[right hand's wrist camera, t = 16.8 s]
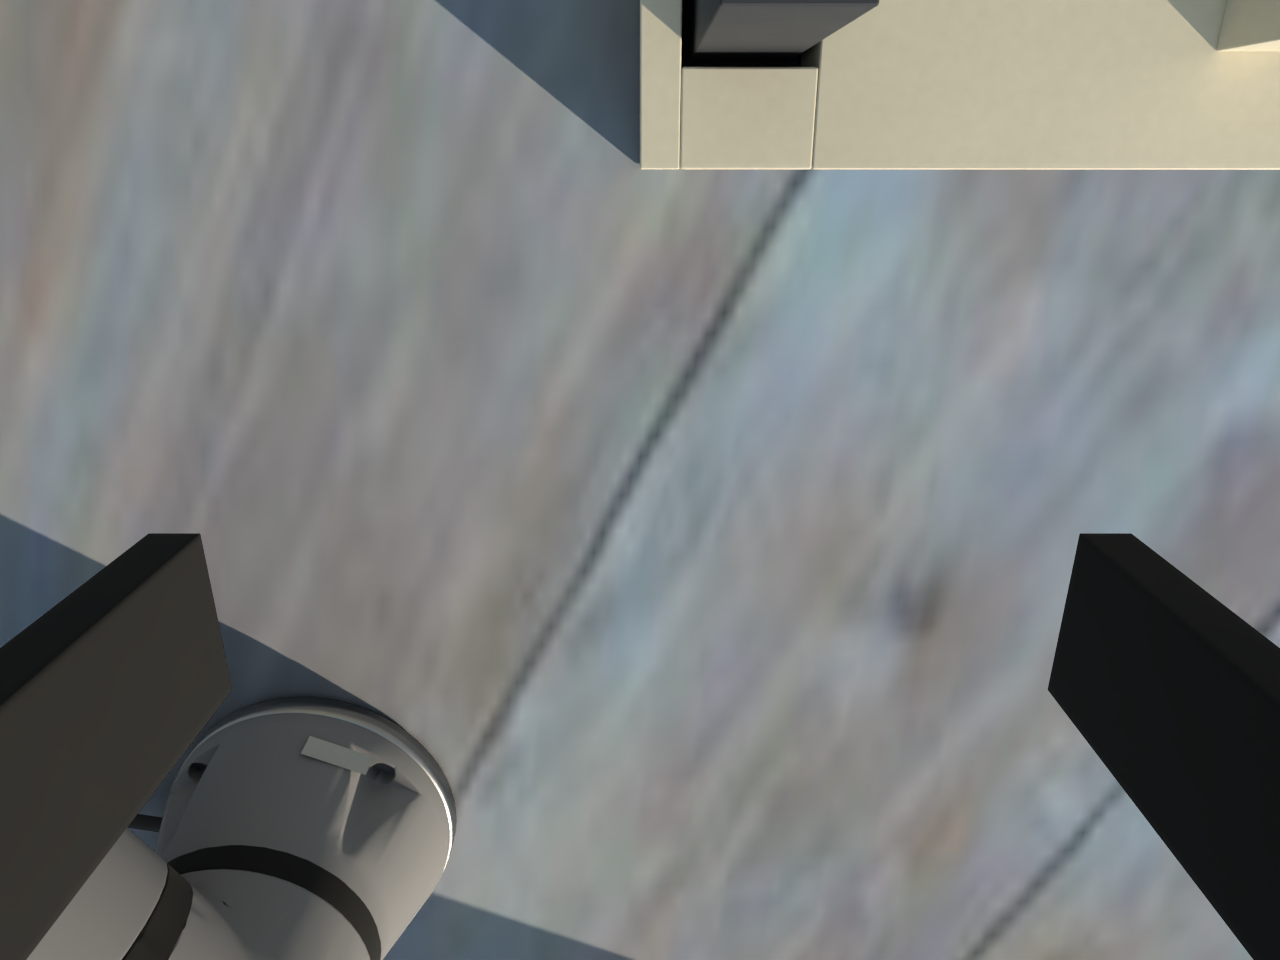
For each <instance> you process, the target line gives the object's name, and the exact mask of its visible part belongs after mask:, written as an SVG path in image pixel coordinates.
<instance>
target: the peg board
mask: <svg viewBox="0 0 1280 960" xmlns="http://www.w3.org/2000/svg"><path fill="white" fill-rule="evenodd" d="M681 46H682V0H640V169H679V168H680V169H980V170H1280V0H879V4H878V6H876V7H875V8H873V9H871V10H870V11H868V12H866V13H865V14H863V15H862V16H860V17H858V18H857V19H855V20H854V21H852V22H850V23H849V24H847V25H846V26H844V27H842V28H841V29H839V30H838V31H836V32H834V33H833V34H831V35H830V36H828V37H826V38H825V39H823V40H822V41H820V42H818V43H817V44H815V45H814V46H812V47H810V48H809V49H807V50H806V51H804V52H802V53H801V67H682V69H681Z"/></svg>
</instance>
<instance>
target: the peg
mask: <svg viewBox="0 0 1280 960" xmlns="http://www.w3.org/2000/svg"><path fill="white" fill-rule="evenodd" d="M878 4H879V0H690V30H689V62H788V61H789V60H791V59H793V58H794V57H796V56H797V55H799V54H801V53H802V52H804V51H806V50H807V49H809V48H810V47H812V46H814V45H815V44H817V43H818V42H820V41H822V40H823V39H825V38H826V37H828V36H830V35H831V34H833V33H834V32H836V31H838V30H839V29H841V28H842V27H844V26H846V25H847V24H849V23H850V22H852V21H854V20H855V19H857V18H858V17H860V16H862V15H863V14H865V13H866V12H868V11H870V10H871V9H873V8H875V7H876V6H878Z"/></svg>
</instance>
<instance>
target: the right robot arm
mask: <svg viewBox="0 0 1280 960" xmlns="http://www.w3.org/2000/svg"><path fill="white" fill-rule="evenodd" d="M231 691H232V686H231V681H230V676H229V672H228V667H227V662H226V657H225V652H224V647H223V642H222V638H221V633H220V628H219V623H218V618H217V613H216V608H215V604H214V599H213V594H212V589H211V584H210V579H209V574H208V569H207V565H206V560H205V555H204V550H203V545H202V540H201V535H200V534H148V535H146V536H145V537H144V538H143V539H141V540H140V541H139V542H137V543H136V544H135V545H133V546H132V547H131V548H130V549H128V550H127V551H126V552H124V553H123V554H122V555H121V556H119V557H118V558H117V559H115V560H114V561H113V562H111V563H110V564H109V565H108V566H106V567H105V568H104V569H102V570H101V571H100V572H98V573H97V574H96V575H95V576H93V577H92V578H91V579H89V580H88V581H87V582H86V583H84V584H83V585H82V586H80V587H79V588H78V589H76V590H75V591H74V592H73V593H71V594H70V595H69V596H67V597H66V598H65V599H64V600H62V601H61V602H60V603H58V604H57V605H56V606H54V607H53V608H52V609H51V610H49V611H48V612H47V613H45V614H44V615H43V616H41V617H40V618H39V619H38V620H36V621H35V622H34V623H32V624H31V625H30V626H29V627H27V628H26V629H25V630H23V631H22V632H21V633H19V634H18V635H17V636H16V637H14V638H13V639H12V640H10V641H9V642H8V643H7V644H5V645H4V646H3V647H1V648H0V960H383V958H384V957H385V956H386V954H387V953H388V952H389V950H390V949H391V948H392V946H393V945H394V944H395V942H396V941H397V940H398V938H399V937H400V936H401V934H402V933H403V932H404V930H405V929H406V928H407V926H408V925H409V924H410V922H411V921H412V920H413V918H414V917H415V915H416V914H417V913H418V911H419V910H420V908H421V907H422V906H423V904H424V903H425V902H426V901H427V899H428V898H429V896H430V895H431V894H432V892H433V891H434V889H435V887H436V886H437V884H438V882H439V880H440V877H441V875H442V873H443V871H444V869H445V867H446V864H447V861H448V858H449V855H450V851H451V848H452V844H453V840H454V835H455V830H456V808H455V802H454V798H453V794H452V791H451V788H450V785H449V783H448V781H447V778H446V777H445V775H444V773H443V771H442V769H441V768H440V766H439V765H438V763H437V762H436V760H435V759H434V758H433V757H432V755H431V754H430V753H429V752H428V751H427V749H426V748H425V747H424V746H423V745H421V744H420V743H419V742H418V741H417V740H416V739H415V738H414V737H413V736H411V735H410V734H409V733H408V732H406V731H405V730H404V729H402V728H401V727H399V726H398V725H396V724H395V723H393V722H391V721H389V720H388V719H386V718H384V717H382V716H380V715H378V714H376V713H374V712H371V711H369V710H366V709H364V708H361V707H358V706H355V705H352V704H348V703H345V702H340V701H335V700H330V699H323V698H313V697H290V698H280V699H273V700H268V701H264V702H260V703H257V704H253V705H250V706H247V707H245V708H243V709H240V710H238V711H236V712H234V713H232V714H231V715H229V716H227V717H225V718H224V719H222V720H221V721H220V722H218V723H217V724H216V725H214V726H213V727H212V728H211V729H210V730H209V731H208V732H207V733H206V734H205V735H204V736H203V737H202V739H201V740H200V741H199V742H198V744H197V745H196V746H195V748H194V749H193V750H192V752H191V753H190V754H189V756H188V757H187V759H186V760H185V762H184V763H183V765H182V767H181V769H180V771H179V773H178V775H177V777H176V779H175V781H174V783H173V785H172V787H171V790H170V793H169V796H168V799H167V803H166V807H165V811H164V815H163V818H161V817H154V816H147V815H140V814H138V813H139V811H140V810H141V809H142V807H143V806H144V805H145V803H146V802H147V801H148V799H149V798H150V797H151V796H152V794H153V793H154V792H155V790H156V789H157V788H158V786H159V785H160V784H161V782H162V781H163V780H164V778H165V777H166V776H167V775H168V773H169V772H170V771H171V769H172V768H173V767H174V765H175V764H176V763H177V761H178V760H179V759H180V757H181V756H182V755H183V754H184V752H185V751H186V750H187V748H188V747H189V746H190V744H191V743H192V742H193V740H194V739H195V738H196V736H197V735H198V734H199V733H200V731H201V730H202V729H203V727H204V726H205V725H206V723H207V722H208V721H209V719H210V718H211V717H212V715H213V714H214V713H215V712H216V710H217V709H218V708H219V706H220V705H221V704H222V702H223V701H224V700H225V698H226V697H227V696H228V694H229V693H230V692H231ZM1048 691H1049V692H1050V693H1051V694H1052V696H1053V697H1054V698H1055V700H1056V701H1057V702H1058V704H1059V705H1060V706H1061V708H1062V709H1063V710H1064V712H1065V713H1066V714H1067V715H1068V717H1069V718H1070V719H1071V721H1072V722H1073V723H1074V725H1075V726H1076V727H1077V729H1078V730H1079V731H1080V733H1081V734H1082V735H1083V736H1084V738H1085V739H1086V740H1087V742H1088V743H1089V744H1090V746H1091V747H1092V748H1093V750H1094V751H1095V752H1096V754H1097V755H1098V756H1099V757H1100V759H1101V760H1102V761H1103V763H1104V764H1105V765H1106V767H1107V768H1108V769H1109V771H1110V772H1111V773H1112V775H1113V776H1114V777H1115V778H1116V780H1117V781H1118V782H1119V784H1120V785H1121V786H1122V788H1123V789H1124V790H1125V792H1126V793H1127V794H1128V796H1129V797H1130V798H1131V799H1132V801H1133V802H1134V803H1135V805H1136V806H1137V807H1138V809H1139V810H1140V811H1141V813H1142V814H1143V815H1144V817H1145V818H1146V819H1147V820H1148V822H1149V823H1150V824H1151V826H1152V827H1153V828H1154V830H1155V831H1156V832H1157V834H1158V835H1159V836H1160V838H1161V839H1162V840H1163V841H1164V843H1165V844H1166V845H1167V847H1168V848H1169V849H1170V851H1171V852H1172V853H1173V855H1174V856H1175V857H1176V859H1177V860H1178V861H1179V862H1180V864H1181V865H1182V866H1183V868H1184V869H1185V870H1186V872H1187V873H1188V874H1189V876H1190V877H1191V878H1192V880H1193V881H1194V882H1195V883H1196V885H1197V886H1198V887H1199V889H1200V890H1201V891H1202V893H1203V894H1204V895H1205V897H1206V898H1207V899H1208V901H1209V902H1210V903H1211V904H1212V906H1213V907H1214V908H1215V910H1216V911H1217V912H1218V914H1219V915H1220V916H1221V918H1222V919H1223V920H1224V922H1225V923H1226V924H1227V925H1228V927H1229V928H1230V929H1231V931H1232V932H1233V933H1234V935H1235V936H1236V937H1237V939H1238V940H1239V941H1240V943H1241V944H1242V945H1243V946H1244V948H1245V949H1246V950H1247V952H1248V953H1249V954H1250V956H1251V957H1252V958H1253V960H1280V648H1279V647H1277V646H1276V645H1275V644H1273V643H1272V642H1271V641H1270V640H1268V639H1267V638H1266V637H1264V636H1263V635H1262V634H1261V633H1259V632H1258V631H1257V630H1255V629H1254V628H1253V627H1251V626H1250V625H1249V624H1248V623H1246V622H1245V621H1244V620H1242V619H1241V618H1240V617H1239V616H1237V615H1236V614H1235V613H1233V612H1232V611H1231V610H1229V609H1228V608H1227V607H1226V606H1224V605H1223V604H1222V603H1220V602H1219V601H1218V600H1216V599H1215V598H1214V597H1213V596H1211V595H1210V594H1209V593H1207V592H1206V591H1205V590H1204V589H1202V588H1201V587H1200V586H1198V585H1197V584H1196V583H1194V582H1193V581H1192V580H1191V579H1189V578H1188V577H1187V576H1185V575H1184V574H1183V573H1182V572H1180V571H1179V570H1178V569H1176V568H1175V567H1174V566H1172V565H1171V564H1170V563H1169V562H1167V561H1166V560H1165V559H1163V558H1162V557H1161V556H1159V555H1158V554H1157V553H1156V552H1154V551H1153V550H1152V549H1150V548H1149V547H1148V546H1147V545H1145V544H1144V543H1143V542H1141V541H1140V540H1139V539H1137V538H1136V537H1135V536H1134V535H1132V534H1080V535H1079V540H1078V545H1077V550H1076V555H1075V560H1074V565H1073V569H1072V574H1071V579H1070V584H1069V589H1068V594H1067V599H1066V604H1065V608H1064V613H1063V618H1062V623H1061V628H1060V633H1059V638H1058V642H1057V647H1056V652H1055V657H1054V662H1053V667H1052V672H1051V676H1050V681H1049V686H1048ZM129 828H134V829H141V830H148V831H155V832H159V835H158V839H157V843H156V847H155V850H154V851H153V850H152V849H151V848H150V847H149V846H148V845H146V844H145V843H144V842H143V841H142V840H141V839H140V838H139V837H138V836H136V835H135V834H134V833H133V832H132V831H131V830H130V829H129Z"/></svg>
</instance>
